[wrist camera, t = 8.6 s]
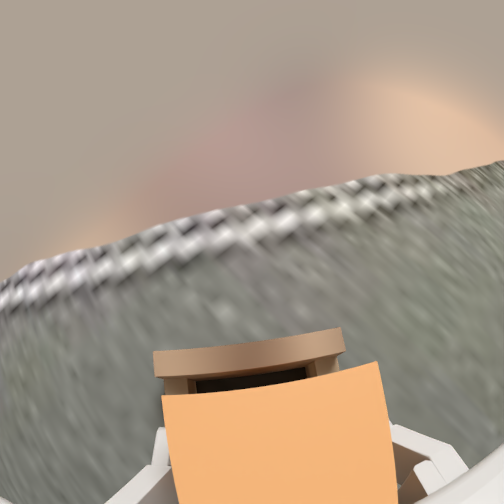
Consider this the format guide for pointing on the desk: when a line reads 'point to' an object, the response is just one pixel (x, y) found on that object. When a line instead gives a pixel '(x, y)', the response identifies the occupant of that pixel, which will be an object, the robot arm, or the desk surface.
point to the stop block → (285, 442)
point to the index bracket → (249, 360)
